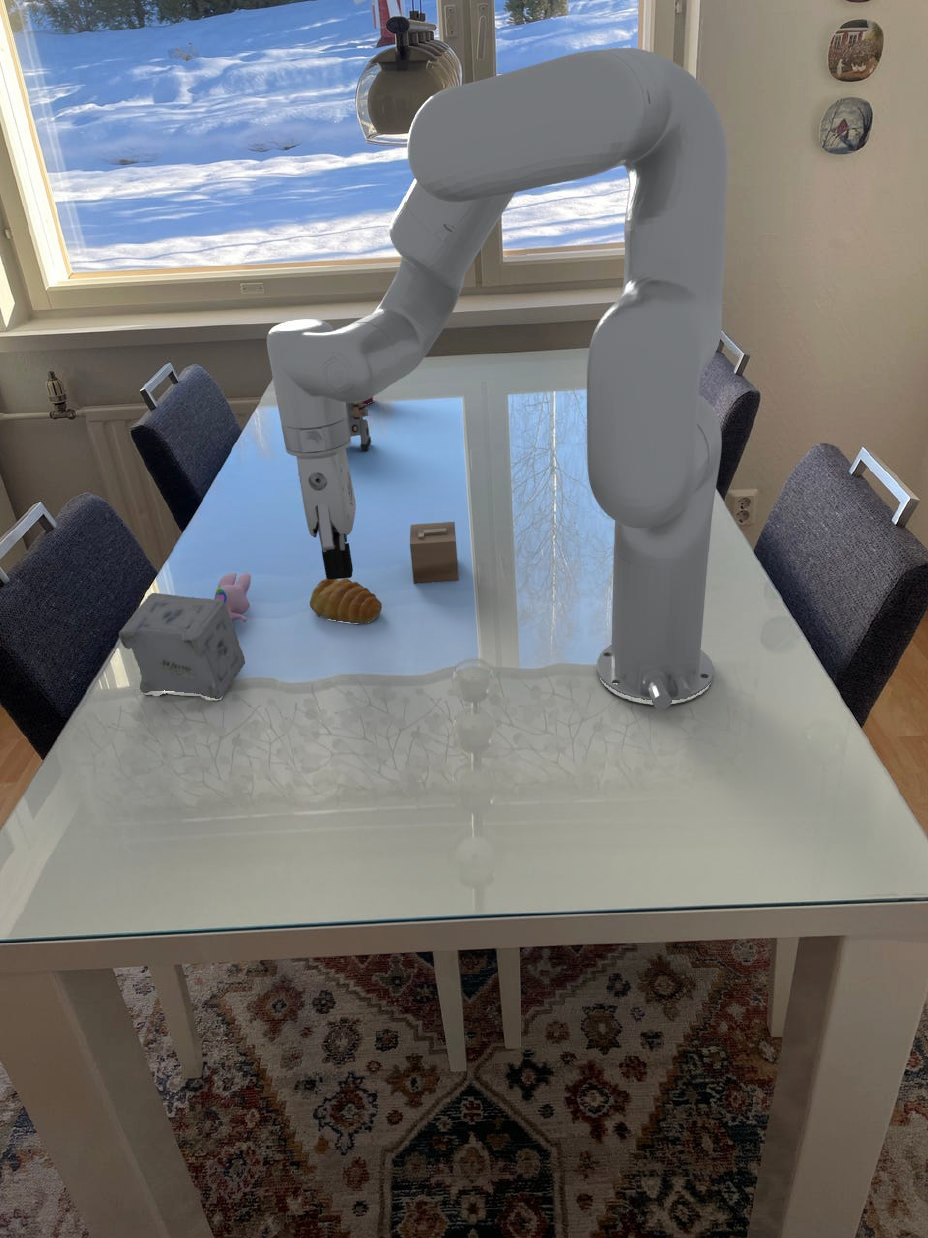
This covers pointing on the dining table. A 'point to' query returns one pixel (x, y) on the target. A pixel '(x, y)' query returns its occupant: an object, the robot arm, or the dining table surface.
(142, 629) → the incense holder
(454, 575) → the lettered block
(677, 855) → the dining table surface
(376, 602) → the pastry
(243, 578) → the rabbit figure
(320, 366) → the robot arm
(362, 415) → the figurine
